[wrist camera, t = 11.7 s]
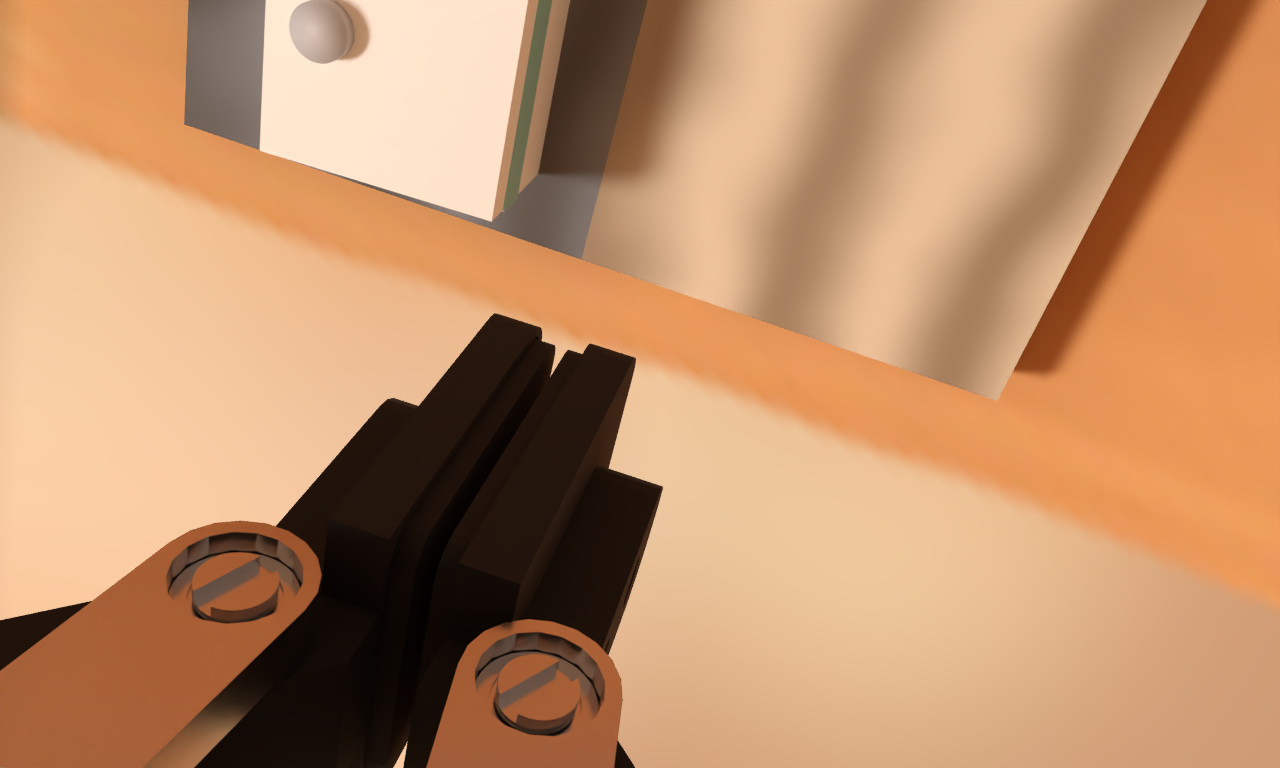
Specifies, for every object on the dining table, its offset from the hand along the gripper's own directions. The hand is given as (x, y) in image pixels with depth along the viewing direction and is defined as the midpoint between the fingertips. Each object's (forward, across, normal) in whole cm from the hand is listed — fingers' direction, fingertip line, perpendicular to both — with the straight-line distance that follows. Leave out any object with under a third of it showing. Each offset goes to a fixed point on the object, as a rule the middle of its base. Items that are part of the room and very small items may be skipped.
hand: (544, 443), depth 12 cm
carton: (+26, +11, +3) cm, 28 cm away
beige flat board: (+28, +5, +3) cm, 29 cm away
